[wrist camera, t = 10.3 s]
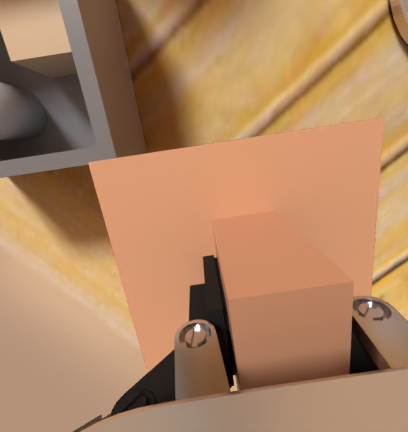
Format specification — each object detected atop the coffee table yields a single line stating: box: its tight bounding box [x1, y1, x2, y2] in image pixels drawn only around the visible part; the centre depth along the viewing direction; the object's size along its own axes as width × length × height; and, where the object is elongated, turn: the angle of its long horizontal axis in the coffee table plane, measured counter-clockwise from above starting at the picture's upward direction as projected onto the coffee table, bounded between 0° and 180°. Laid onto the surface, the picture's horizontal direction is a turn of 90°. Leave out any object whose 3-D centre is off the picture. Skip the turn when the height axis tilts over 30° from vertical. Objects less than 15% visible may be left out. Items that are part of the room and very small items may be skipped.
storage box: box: [0, 0, 147, 178], centre depth 14 cm, size 12×12×8 cm
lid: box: [88, 118, 384, 391], centre depth 10 cm, size 13×13×7 cm
